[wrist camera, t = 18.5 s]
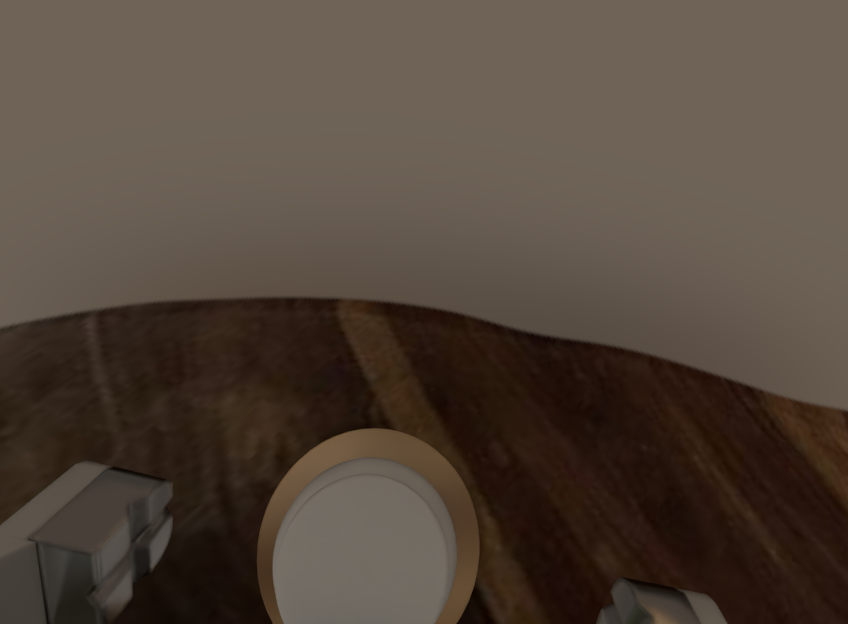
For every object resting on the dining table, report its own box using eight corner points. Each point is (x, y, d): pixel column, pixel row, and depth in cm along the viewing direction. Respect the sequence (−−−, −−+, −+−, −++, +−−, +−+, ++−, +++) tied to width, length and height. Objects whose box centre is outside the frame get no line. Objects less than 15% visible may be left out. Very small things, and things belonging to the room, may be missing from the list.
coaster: (514, 602, 18) (518, 604, 18) (298, 725, 16) (296, 731, 16) (426, 399, 21) (427, 397, 21) (234, 479, 19) (230, 478, 19)
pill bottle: (366, 444, 20) (362, 400, 12) (458, 529, 19) (523, 545, 11) (274, 549, 18) (192, 582, 10) (371, 649, 17) (370, 781, 9)
